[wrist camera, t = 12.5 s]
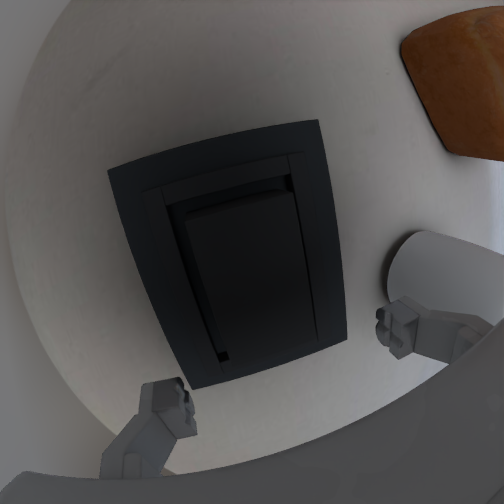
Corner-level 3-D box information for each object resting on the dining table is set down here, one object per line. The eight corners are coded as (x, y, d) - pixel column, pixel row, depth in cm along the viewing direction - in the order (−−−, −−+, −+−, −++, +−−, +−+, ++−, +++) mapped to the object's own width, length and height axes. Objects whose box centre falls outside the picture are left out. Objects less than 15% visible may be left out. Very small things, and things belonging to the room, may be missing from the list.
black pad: (301, 318, 21) (317, 339, 18) (226, 342, 20) (232, 367, 17) (277, 188, 18) (293, 192, 15) (185, 212, 17) (184, 221, 14)
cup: (415, 204, 22) (553, 249, 8) (446, 258, 25) (550, 311, 11) (360, 279, 22) (487, 376, 9) (401, 322, 25) (496, 402, 12)
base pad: (342, 333, 24) (354, 346, 22) (191, 382, 22) (193, 400, 20) (312, 121, 18) (326, 116, 16) (111, 170, 16) (101, 170, 14)
